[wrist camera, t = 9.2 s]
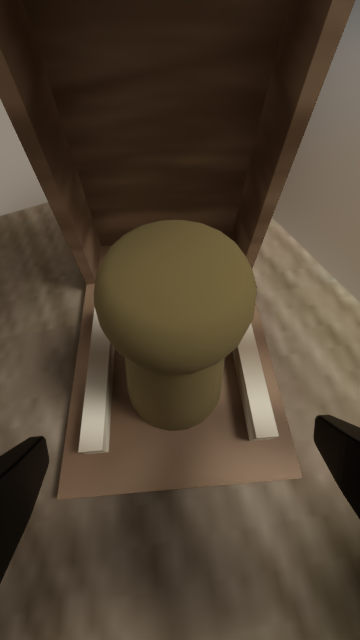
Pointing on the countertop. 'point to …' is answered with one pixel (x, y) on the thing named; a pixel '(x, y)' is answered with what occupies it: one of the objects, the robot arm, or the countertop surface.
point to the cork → (174, 316)
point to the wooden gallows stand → (166, 193)
